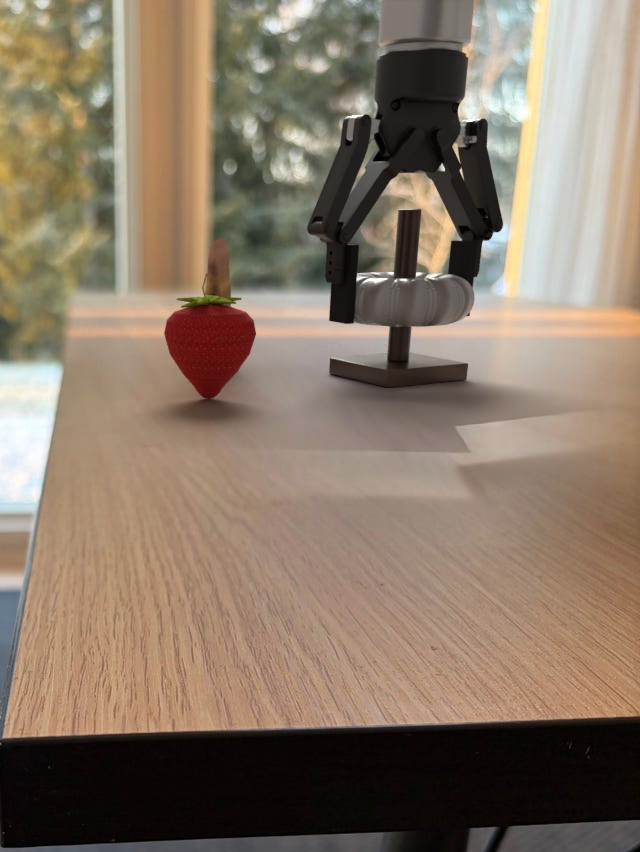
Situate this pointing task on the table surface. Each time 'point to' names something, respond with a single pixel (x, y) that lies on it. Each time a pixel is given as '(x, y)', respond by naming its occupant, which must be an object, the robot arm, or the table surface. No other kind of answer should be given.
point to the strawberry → (209, 341)
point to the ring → (411, 299)
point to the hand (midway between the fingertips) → (400, 319)
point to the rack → (400, 331)
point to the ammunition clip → (218, 270)
